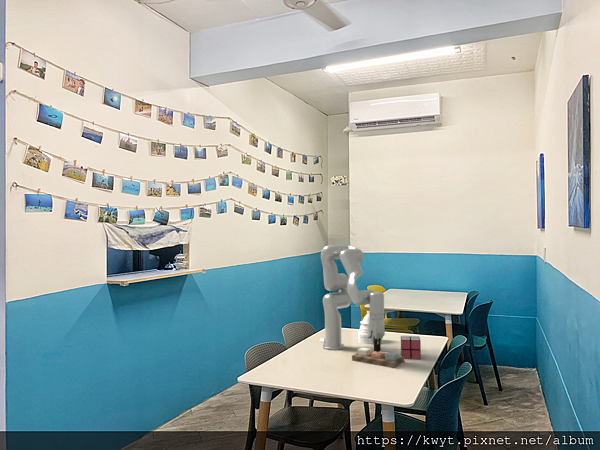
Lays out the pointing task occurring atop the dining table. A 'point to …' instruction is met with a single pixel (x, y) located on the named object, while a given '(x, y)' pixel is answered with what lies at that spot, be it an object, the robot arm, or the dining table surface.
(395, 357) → the button sage
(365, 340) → the honey pot
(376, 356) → the button terracotta
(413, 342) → the puzzle cube
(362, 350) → the button cream
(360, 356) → the key panel
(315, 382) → the dining table surface
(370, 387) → the dining table surface
